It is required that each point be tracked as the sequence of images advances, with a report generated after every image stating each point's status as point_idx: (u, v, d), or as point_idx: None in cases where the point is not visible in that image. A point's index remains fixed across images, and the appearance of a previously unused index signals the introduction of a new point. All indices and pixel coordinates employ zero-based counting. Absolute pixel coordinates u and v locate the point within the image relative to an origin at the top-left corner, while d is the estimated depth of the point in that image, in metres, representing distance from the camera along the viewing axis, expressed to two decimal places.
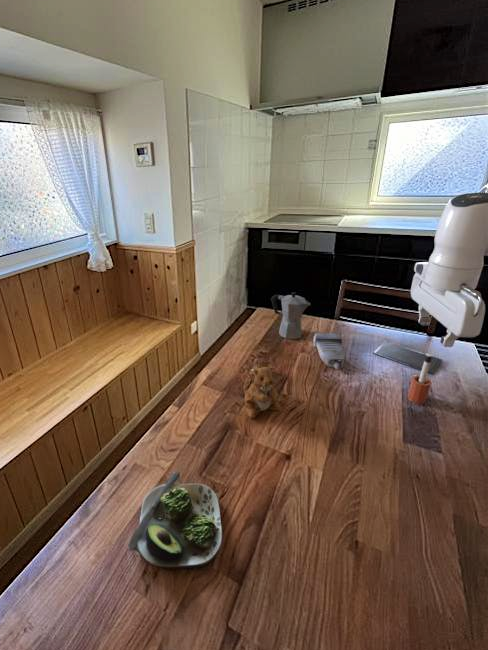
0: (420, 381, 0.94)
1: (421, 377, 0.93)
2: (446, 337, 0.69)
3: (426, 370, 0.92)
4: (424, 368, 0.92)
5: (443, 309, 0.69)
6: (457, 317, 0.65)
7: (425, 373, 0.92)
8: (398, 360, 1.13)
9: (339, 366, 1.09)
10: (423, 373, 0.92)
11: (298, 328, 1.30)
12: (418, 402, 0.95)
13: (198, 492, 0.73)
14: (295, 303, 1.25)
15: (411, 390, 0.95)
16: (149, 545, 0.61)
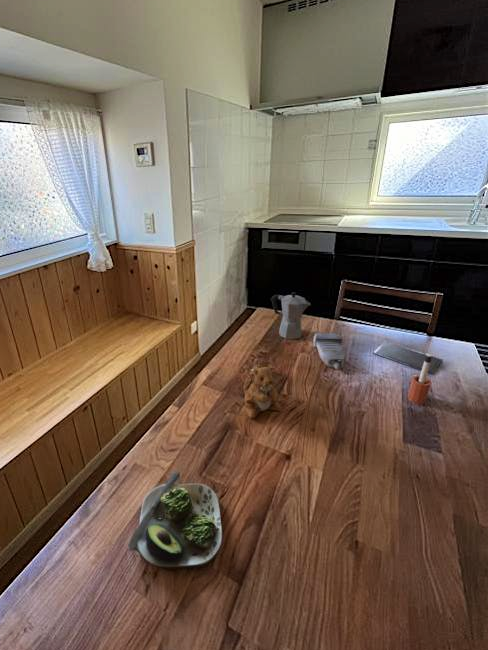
0: (420, 381, 0.94)
1: (421, 377, 0.93)
2: None
3: (426, 370, 0.92)
4: (424, 368, 0.92)
5: None
6: None
7: (425, 373, 0.92)
8: (398, 360, 1.13)
9: (339, 366, 1.09)
10: (423, 373, 0.92)
11: (298, 328, 1.30)
12: (418, 402, 0.95)
13: (198, 492, 0.73)
14: (295, 303, 1.25)
15: (411, 390, 0.95)
16: (149, 545, 0.61)
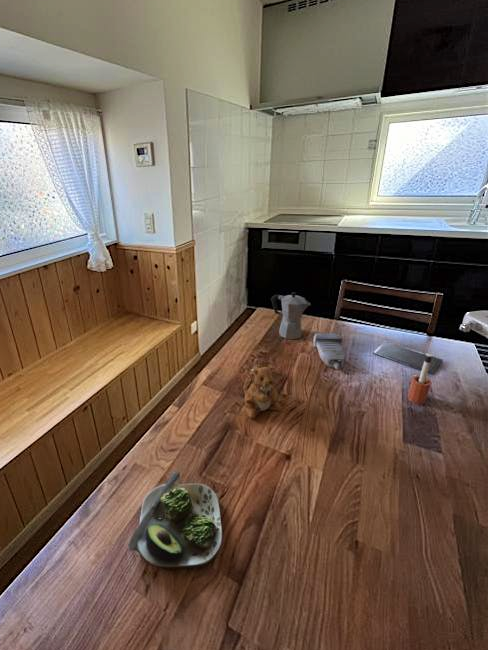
0: (420, 381, 0.94)
1: (421, 377, 0.93)
2: None
3: (426, 370, 0.92)
4: (424, 368, 0.92)
5: None
6: None
7: (425, 373, 0.92)
8: (398, 360, 1.13)
9: (339, 366, 1.09)
10: (423, 373, 0.92)
11: (298, 328, 1.30)
12: (418, 402, 0.95)
13: (198, 492, 0.73)
14: (295, 303, 1.25)
15: (411, 390, 0.95)
16: (149, 545, 0.61)
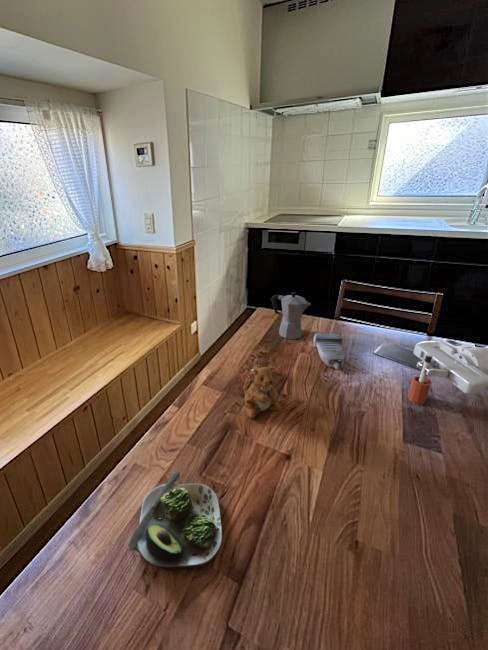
0: (420, 381, 0.94)
1: (422, 377, 0.93)
2: (437, 369, 0.90)
3: None
4: (424, 368, 0.92)
5: (462, 368, 0.89)
6: (478, 378, 0.85)
7: None
8: (398, 360, 1.13)
9: (339, 366, 1.09)
10: (423, 373, 0.92)
11: (298, 328, 1.30)
12: (418, 402, 0.95)
13: (198, 492, 0.73)
14: (295, 303, 1.25)
15: (411, 390, 0.95)
16: (149, 545, 0.61)
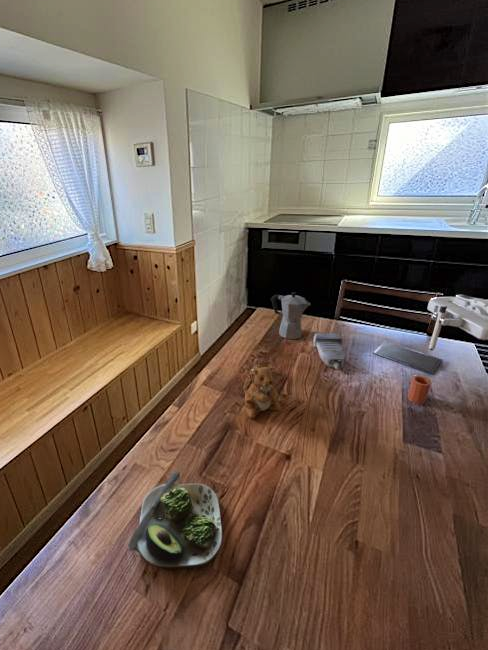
0: (435, 332, 0.98)
1: (436, 328, 0.97)
2: (452, 319, 0.94)
3: None
4: None
5: (475, 317, 0.93)
6: None
7: (440, 324, 0.96)
8: (398, 360, 1.13)
9: (339, 366, 1.09)
10: (438, 324, 0.97)
11: (298, 328, 1.30)
12: (418, 402, 0.95)
13: (198, 492, 0.73)
14: (295, 303, 1.25)
15: (411, 390, 0.95)
16: (149, 545, 0.61)
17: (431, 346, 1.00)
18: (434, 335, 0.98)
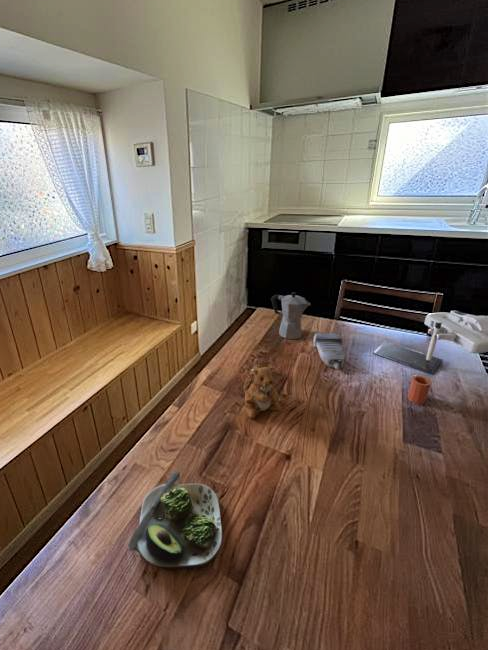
0: (431, 345, 1.08)
1: (432, 342, 1.07)
2: (446, 334, 1.04)
3: None
4: (434, 333, 1.06)
5: (467, 332, 1.03)
6: (481, 339, 0.99)
7: (435, 338, 1.06)
8: (398, 360, 1.13)
9: (339, 366, 1.09)
10: (433, 338, 1.07)
11: (298, 328, 1.30)
12: (418, 402, 0.95)
13: (198, 492, 0.73)
14: (295, 303, 1.25)
15: (411, 390, 0.95)
16: (149, 545, 0.61)
17: (427, 358, 1.10)
18: (430, 348, 1.08)
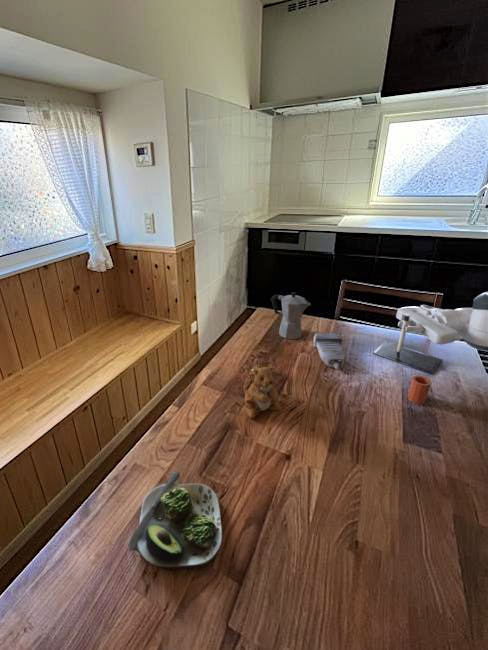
0: (400, 337, 1.14)
1: (401, 334, 1.13)
2: (414, 326, 1.10)
3: None
4: (403, 326, 1.12)
5: (433, 325, 1.09)
6: (445, 331, 1.05)
7: (404, 330, 1.12)
8: (398, 360, 1.13)
9: (339, 366, 1.09)
10: (403, 330, 1.13)
11: (298, 328, 1.30)
12: (418, 402, 0.95)
13: (198, 492, 0.73)
14: (295, 303, 1.25)
15: (411, 390, 0.95)
16: (149, 545, 0.61)
17: (398, 349, 1.16)
18: (400, 340, 1.14)
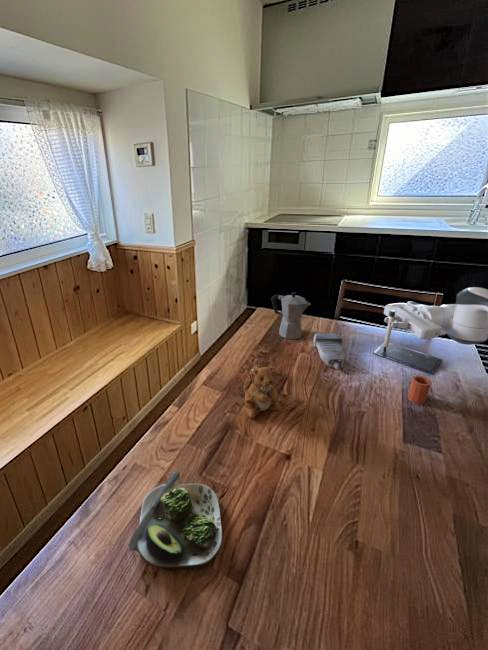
0: (387, 333, 1.17)
1: (388, 329, 1.16)
2: (399, 322, 1.13)
3: None
4: (389, 322, 1.15)
5: (418, 320, 1.12)
6: (429, 326, 1.08)
7: (390, 326, 1.15)
8: (398, 360, 1.13)
9: (339, 366, 1.09)
10: (389, 326, 1.16)
11: (298, 328, 1.30)
12: (418, 402, 0.95)
13: (198, 492, 0.73)
14: (295, 303, 1.25)
15: (411, 390, 0.95)
16: (149, 545, 0.61)
17: (384, 345, 1.19)
18: (386, 335, 1.17)
